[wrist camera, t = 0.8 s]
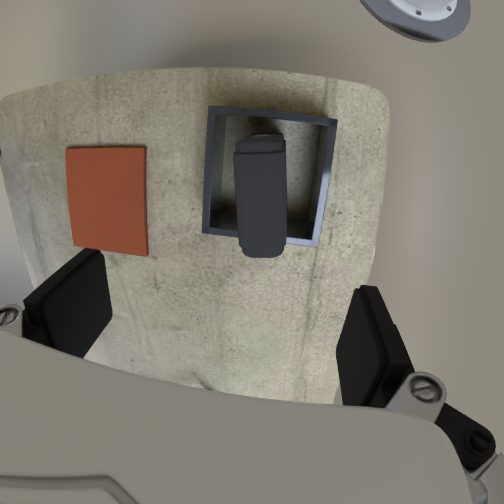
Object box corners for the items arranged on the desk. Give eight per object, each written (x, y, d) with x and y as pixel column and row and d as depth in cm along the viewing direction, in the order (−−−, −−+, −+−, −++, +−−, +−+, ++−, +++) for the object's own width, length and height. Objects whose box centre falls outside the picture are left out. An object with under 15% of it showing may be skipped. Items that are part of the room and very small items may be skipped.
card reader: (250, 130, 34) (226, 140, 21) (285, 129, 34) (284, 138, 20) (253, 205, 38) (234, 259, 25) (286, 204, 38) (286, 259, 24)
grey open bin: (220, 107, 33) (208, 105, 28) (329, 118, 33) (337, 119, 27) (213, 215, 39) (201, 233, 34) (313, 228, 39) (317, 247, 33)
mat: (68, 148, 37) (65, 148, 36) (146, 147, 36) (144, 147, 36) (76, 243, 43) (73, 245, 43) (148, 254, 43) (146, 256, 42)
